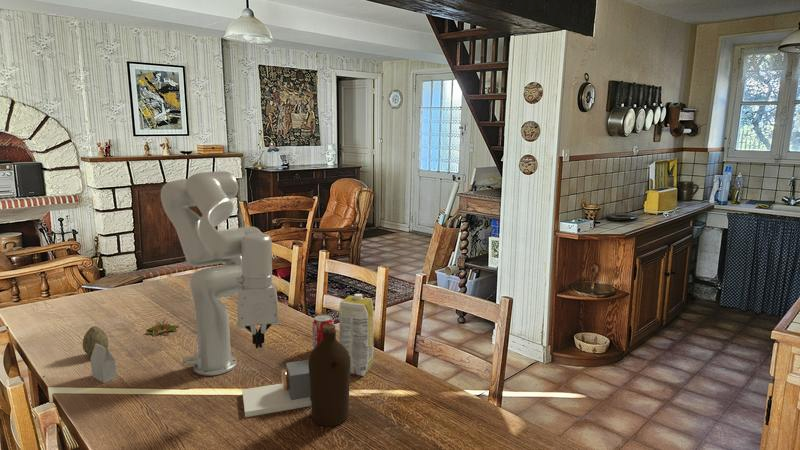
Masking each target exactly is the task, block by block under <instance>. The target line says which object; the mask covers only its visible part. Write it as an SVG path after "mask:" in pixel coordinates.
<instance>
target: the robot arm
mask: <svg viewBox="0 0 800 450" xmlns="http://www.w3.org/2000/svg"><path fill="white" fill-rule="evenodd" d="M238 193H239V183H238V180H237V179H236V177H235V175H234V174H232V173H231V172H229V171H225V170H224V171H223V170H222V171H207V172H206V171H205V172H198V173H194V174H191V175H190V176H189V177H188V178H186V179H183V178H182V179H176V180H172V181H169V182H166V183H165V184H164V185H163V186H162V187H161V190H160V200H161V205H162V207H163V210H164V212H165V214H166V216H167V218H168V219H169V221H170V222H171V223H172V225H173V227H174V229H175V231H176V233H177V236H178V240H179V242H180V246H181V249H182V251H183V255H184V257H185V259H186V262H187V263H188V265H190V266H191V267H192V268H193V267H194V268H200V267H204V268H201V269H198V270H197V271H195V272H193V273H192V274H191V276H190V277H189V278H190V279H189V289H190V292H191V296H192V300H193V301H192V302H193V307H194V315H195V316H194V317H195V329H196V341H197V342H196V344H197V351H196V354H193V355H191V356H183V357H182V364H186V366H187V367H188V366H193V371H194V373H196V374H198V375H200V376H209V377H210V376H219V375H222V374H225V373H228V372H230V371H232V370H233V369H235V368H236V366H237V363H238V362H237V358H236V357H234V356H233V355H232V351H231V350H232V349H231V334H230V333H231V331H230V317H229V309H228V308H227V306H226V305H225V304H224V303H223V302H221V301H220V299H222V298H225V297H229V296H233V295H236V294H238V295H237V296H238V297H237V321H236V328H239V329H245V330H247V331H249V332H250V333H251V337H252V338H251V339H252V345H255V348H256V349H258V348H260V349H261V348H263V344H265V334H266V332H267V330H268V329H270V327H271V326H275V325H278V324H279V323H280V321H279V304H278V302H279V301H278V293H277V287H276V284H275V283H273V248H272V247H273V244H272V242H273V241H272V238H271V236H270V235H269V234H267V233H263V232H262V231H261V230H260V229H259V228H258V227H256V226H243V227H236V228H229V229H223V230H218V229H217V228H216V227H217V226H218V225H221V224H222V223H223V222H225V221H226V220H228V218H229V217H231V215H232V214H233V212H234V204H233V201H232V200H233V199H234V198H235V197H236V196H237V194H238ZM189 207H197V209H198V210H199V212H200V213H201V214H202V215H201V216H200V215H199V214H198V213H196V212H195V211H194V210H192V209H190V208H189ZM218 264H223V265H218ZM211 265H212V266H211ZM213 265H216V266H213ZM207 266H210V267H207ZM256 326H259V328H258V329H257V328H256Z"/></svg>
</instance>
